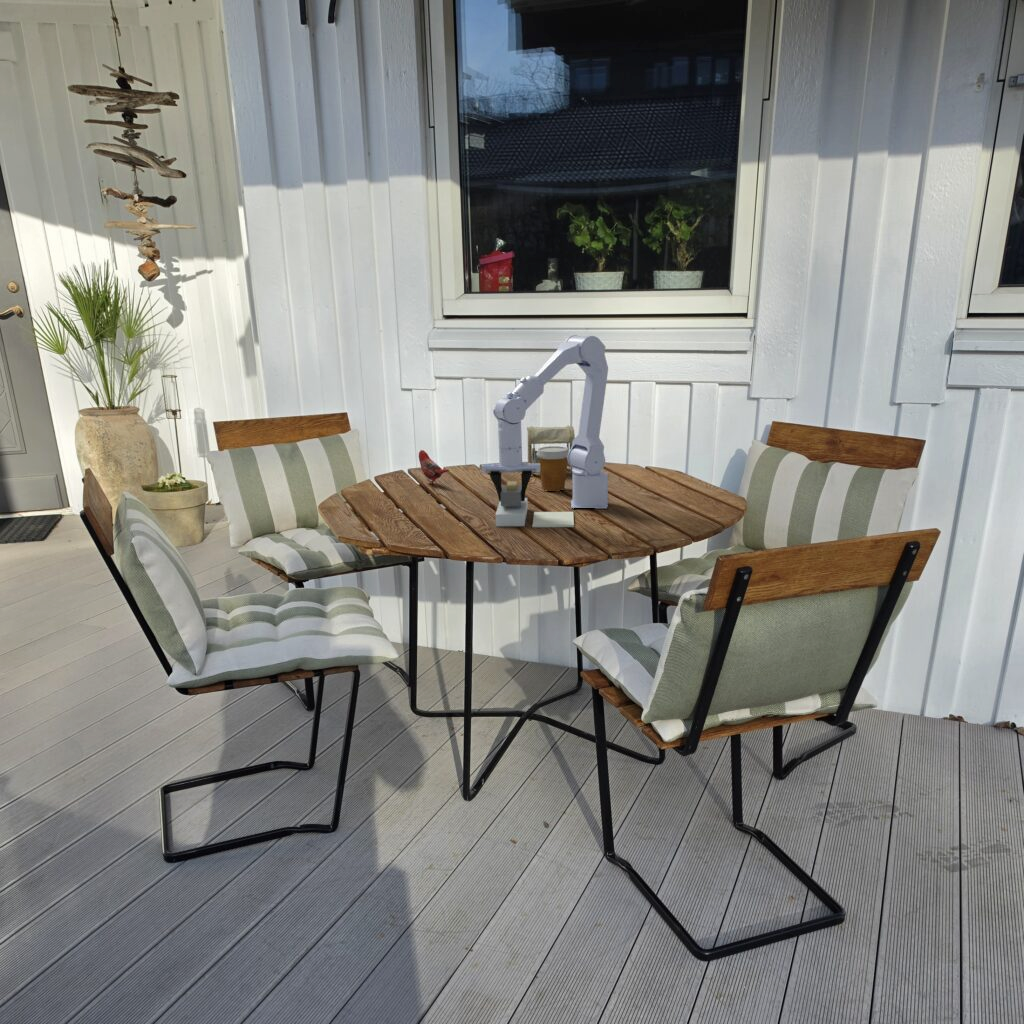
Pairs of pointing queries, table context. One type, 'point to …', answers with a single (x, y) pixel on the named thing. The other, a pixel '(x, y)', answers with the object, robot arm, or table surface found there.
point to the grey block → (511, 494)
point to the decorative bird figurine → (430, 467)
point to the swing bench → (548, 439)
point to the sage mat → (553, 519)
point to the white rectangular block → (511, 515)
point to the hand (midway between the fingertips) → (511, 500)
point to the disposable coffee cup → (553, 467)
